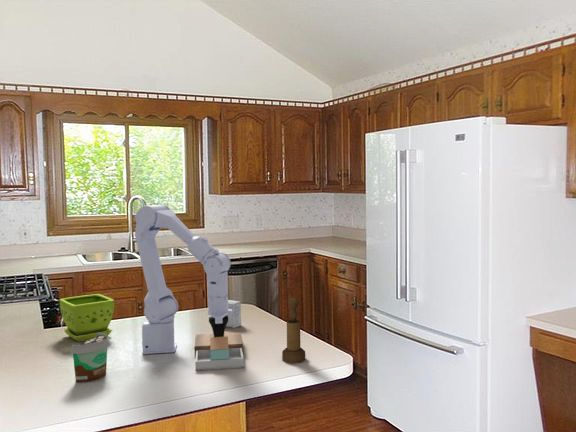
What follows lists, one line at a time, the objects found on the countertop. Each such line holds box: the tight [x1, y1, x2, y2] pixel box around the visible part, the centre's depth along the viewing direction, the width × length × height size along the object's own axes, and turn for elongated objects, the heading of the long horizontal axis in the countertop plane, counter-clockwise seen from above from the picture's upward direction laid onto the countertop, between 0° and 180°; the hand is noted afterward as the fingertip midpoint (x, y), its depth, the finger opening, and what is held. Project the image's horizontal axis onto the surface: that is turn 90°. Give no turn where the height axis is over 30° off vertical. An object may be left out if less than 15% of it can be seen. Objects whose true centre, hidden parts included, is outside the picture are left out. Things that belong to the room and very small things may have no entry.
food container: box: [70, 333, 111, 384], centre depth 136 cm, size 12×6×10 cm, turn 168°
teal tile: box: [210, 349, 229, 360], centre depth 144 cm, size 5×5×2 cm
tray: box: [194, 348, 245, 372], centre depth 146 cm, size 13×10×2 cm
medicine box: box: [225, 299, 242, 329], centre depth 185 cm, size 8×4×9 cm, turn 58°
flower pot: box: [59, 293, 115, 343], centre depth 173 cm, size 14×14×13 cm
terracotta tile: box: [210, 336, 228, 350], centre depth 148 cm, size 5×5×2 cm
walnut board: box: [194, 331, 244, 359], centre depth 157 cm, size 14×12×4 cm
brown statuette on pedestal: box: [281, 296, 306, 364], centre depth 148 cm, size 7×6×18 cm
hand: (218, 341), depth 152 cm, fingers closed
